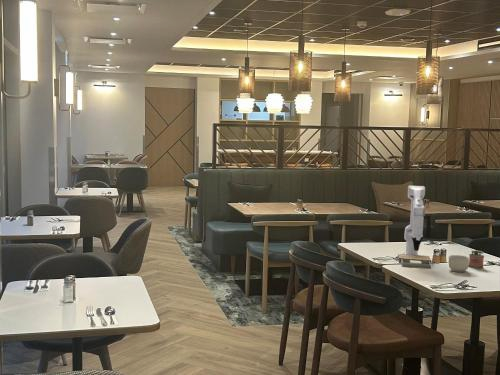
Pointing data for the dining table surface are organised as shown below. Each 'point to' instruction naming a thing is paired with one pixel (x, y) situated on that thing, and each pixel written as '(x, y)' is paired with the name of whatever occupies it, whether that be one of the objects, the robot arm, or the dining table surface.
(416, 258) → the board
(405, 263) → the tray
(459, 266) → the teacup
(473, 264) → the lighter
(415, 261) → the tile
